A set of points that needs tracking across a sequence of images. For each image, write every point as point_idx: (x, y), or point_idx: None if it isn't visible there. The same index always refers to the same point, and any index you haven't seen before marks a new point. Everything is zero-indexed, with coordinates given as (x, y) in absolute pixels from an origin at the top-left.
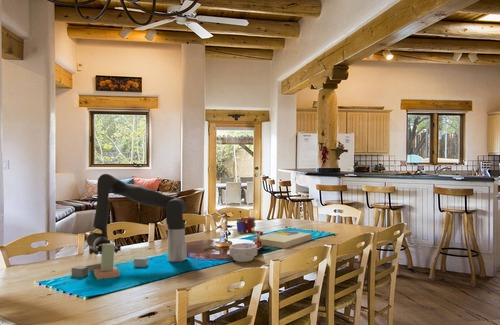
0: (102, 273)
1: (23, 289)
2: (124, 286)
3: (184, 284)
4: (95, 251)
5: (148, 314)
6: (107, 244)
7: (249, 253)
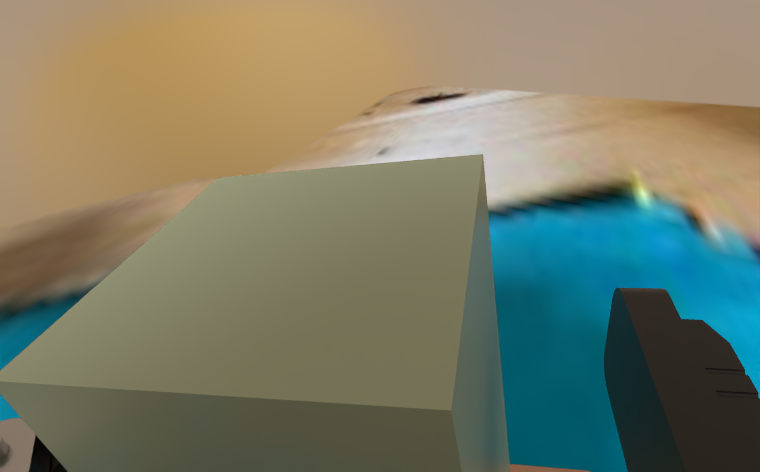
0: (514, 465)
1: None
2: None
3: (178, 196)
4: (693, 327)
5: (438, 98)
6: (334, 207)
7: None
